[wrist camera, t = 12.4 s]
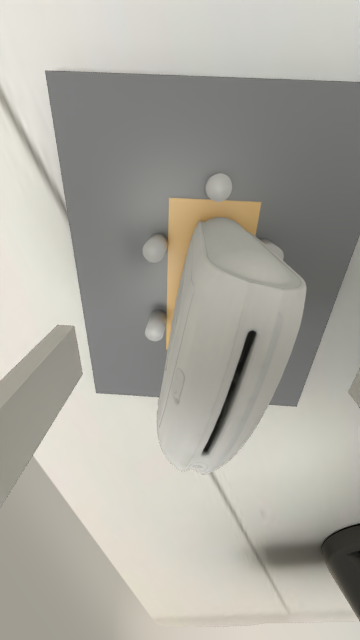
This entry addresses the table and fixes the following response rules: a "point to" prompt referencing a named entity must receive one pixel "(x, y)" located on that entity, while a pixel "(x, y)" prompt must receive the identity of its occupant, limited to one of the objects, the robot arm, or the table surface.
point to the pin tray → (200, 200)
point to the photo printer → (225, 344)
